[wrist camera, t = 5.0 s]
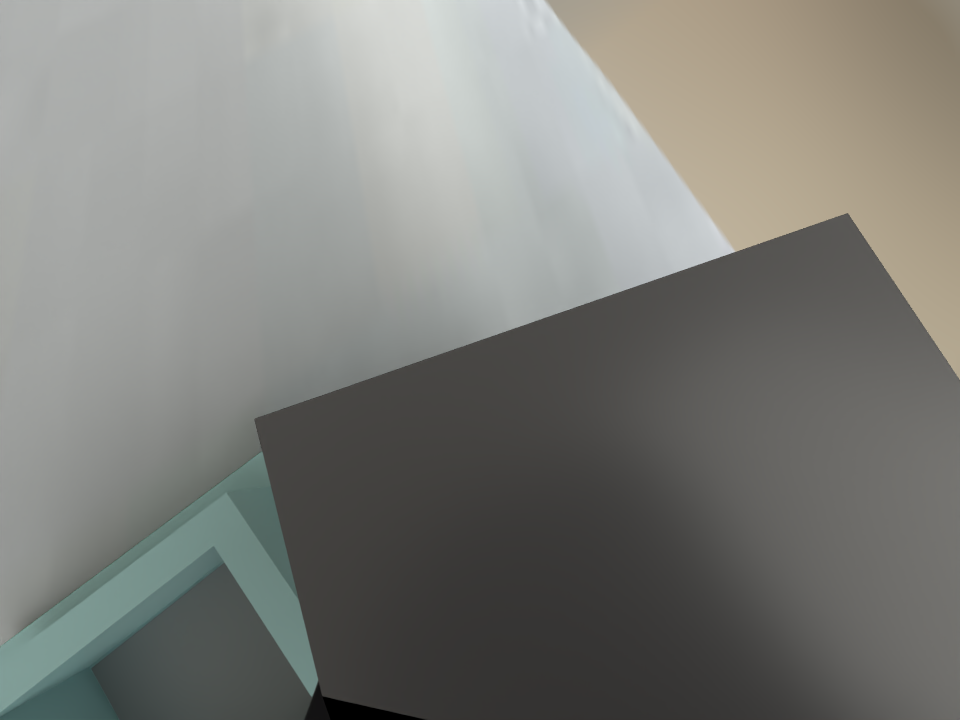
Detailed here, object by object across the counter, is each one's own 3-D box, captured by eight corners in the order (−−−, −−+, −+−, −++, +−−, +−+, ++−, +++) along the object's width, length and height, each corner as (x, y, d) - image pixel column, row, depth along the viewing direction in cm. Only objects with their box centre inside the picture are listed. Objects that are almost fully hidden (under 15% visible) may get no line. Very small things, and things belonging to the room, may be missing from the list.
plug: (576, 525, 15) (1326, 926, 2) (465, 573, 14) (542, 1594, 1) (531, 414, 16) (848, 213, 3) (425, 454, 15) (254, 418, 2)
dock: (470, 678, 14) (476, 762, 10) (187, 961, 12) (53, 1211, 8) (295, 435, 16) (242, 428, 12) (18, 644, 13) (-161, 719, 10)
